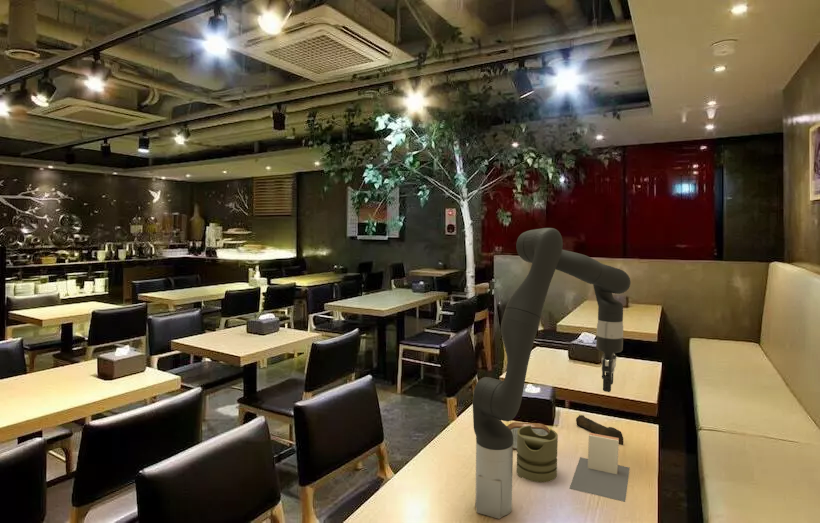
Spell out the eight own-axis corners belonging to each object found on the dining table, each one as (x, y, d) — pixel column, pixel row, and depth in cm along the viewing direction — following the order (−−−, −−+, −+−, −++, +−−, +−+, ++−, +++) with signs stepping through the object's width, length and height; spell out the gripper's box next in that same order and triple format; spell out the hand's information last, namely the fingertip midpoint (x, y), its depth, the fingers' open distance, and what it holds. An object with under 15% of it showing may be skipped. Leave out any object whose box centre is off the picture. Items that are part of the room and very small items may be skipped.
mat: (625, 503, 128) (625, 501, 128) (569, 490, 134) (569, 488, 134) (629, 468, 146) (629, 467, 146) (580, 458, 152) (580, 457, 152)
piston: (522, 422, 150) (560, 429, 145) (521, 460, 151) (559, 468, 146) (513, 437, 140) (554, 445, 135) (512, 478, 141) (553, 487, 136)
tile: (617, 474, 142) (618, 440, 141) (587, 468, 146) (588, 435, 145) (617, 471, 144) (618, 438, 143) (588, 465, 147) (589, 432, 146)
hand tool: (575, 426, 176) (575, 413, 176) (583, 424, 178) (583, 411, 178) (616, 448, 159) (617, 435, 159) (625, 446, 161) (626, 432, 160)
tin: (550, 448, 159) (551, 422, 159) (552, 452, 156) (553, 426, 156) (503, 445, 161) (503, 420, 160) (504, 450, 158) (504, 424, 157)
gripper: (621, 341, 142) (619, 397, 144) (624, 331, 155) (622, 382, 156) (593, 338, 146) (592, 393, 147) (599, 328, 158) (597, 379, 160)
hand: (608, 387), depth 152 cm, fingers open, 7 cm apart
